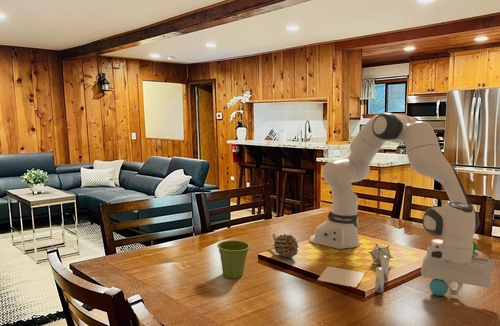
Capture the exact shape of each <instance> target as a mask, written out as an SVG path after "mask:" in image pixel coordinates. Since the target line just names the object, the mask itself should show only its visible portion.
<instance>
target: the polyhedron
mask: <svg viewBox="0 0 500 326" xmlns="http://www.w3.org/2000/svg"><path fill="white" fill-rule="evenodd" d="M477 247H478V246H477V243H476V241H474V240H473V252H475V251H476V250H477Z"/></svg>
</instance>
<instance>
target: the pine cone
mask: <svg viewBox="0 0 500 326" xmlns="http://www.w3.org/2000/svg"><path fill="white" fill-rule="evenodd" d="M272 238H273V241H274V243H273V244H272V246H273V248H272V249H274V251H275V254H277V255H278V256H280V257H284V258H289V259H290V258H293V257H295V256H296V255H298V252H299V250H298V249H299V248H300V245H298V244H299V242H298V240H297V237H296V238H295V237H294V236H293V235H292V234H286V233H284V234H280V235H277V234H275V233H273V234H272Z"/></svg>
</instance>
